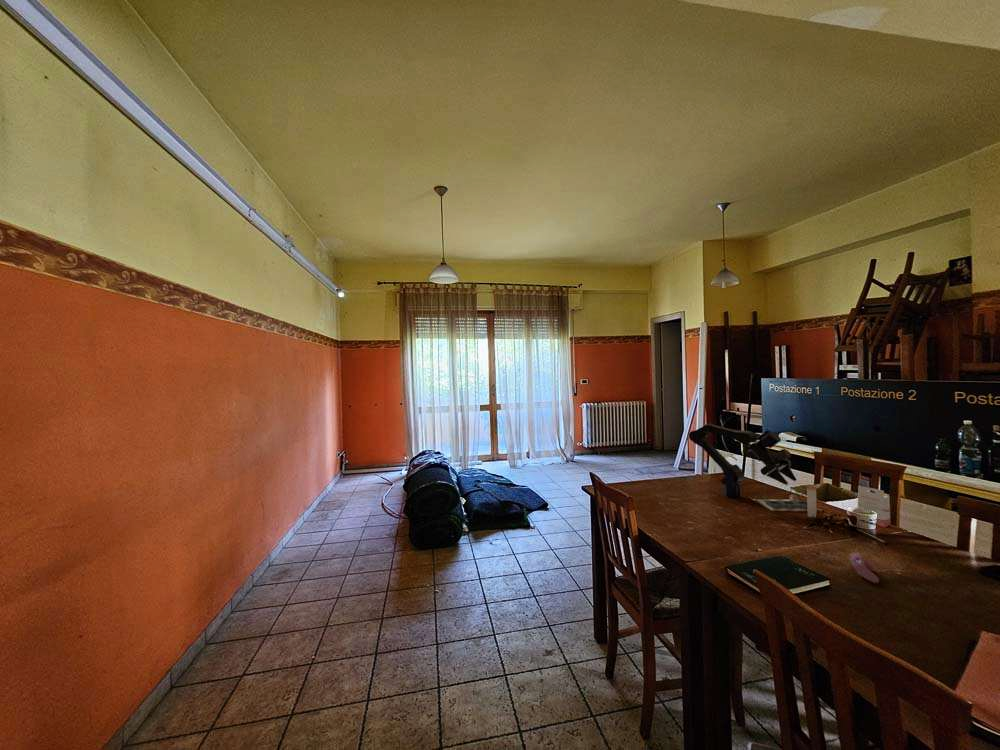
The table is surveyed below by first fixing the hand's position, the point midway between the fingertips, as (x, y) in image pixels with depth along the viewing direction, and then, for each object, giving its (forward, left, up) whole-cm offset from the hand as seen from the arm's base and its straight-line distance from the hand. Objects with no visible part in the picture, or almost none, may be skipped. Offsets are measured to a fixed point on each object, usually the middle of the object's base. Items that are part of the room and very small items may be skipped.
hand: (791, 482), depth 167 cm
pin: (+5, -6, -13) cm, 15 cm away
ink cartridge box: (+24, -12, -13) cm, 30 cm away
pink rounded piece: (-13, -53, -13) cm, 56 cm away
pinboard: (+1, +6, -13) cm, 14 cm away
